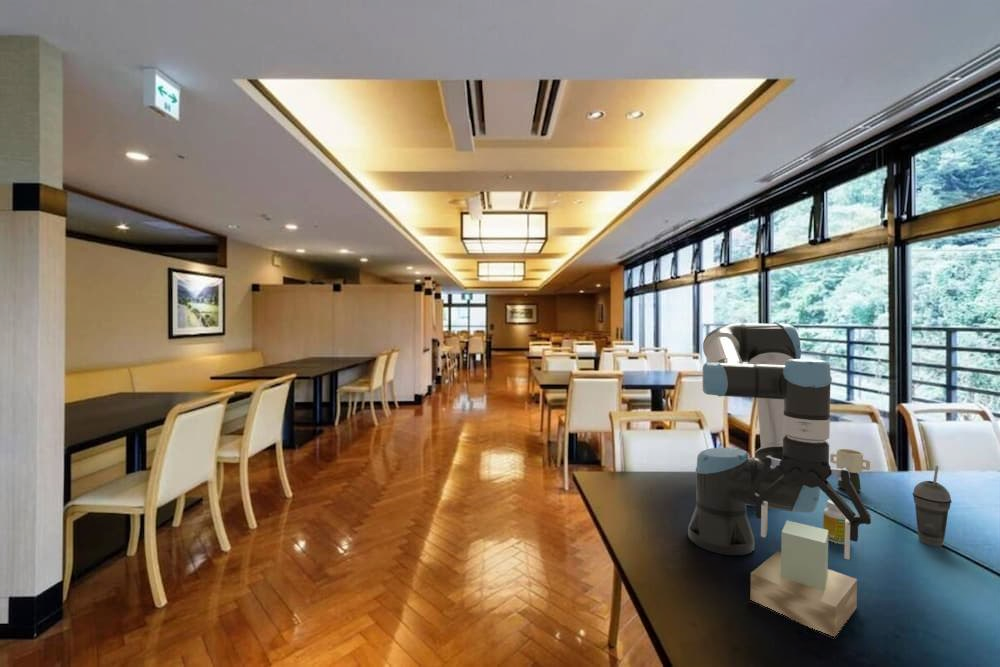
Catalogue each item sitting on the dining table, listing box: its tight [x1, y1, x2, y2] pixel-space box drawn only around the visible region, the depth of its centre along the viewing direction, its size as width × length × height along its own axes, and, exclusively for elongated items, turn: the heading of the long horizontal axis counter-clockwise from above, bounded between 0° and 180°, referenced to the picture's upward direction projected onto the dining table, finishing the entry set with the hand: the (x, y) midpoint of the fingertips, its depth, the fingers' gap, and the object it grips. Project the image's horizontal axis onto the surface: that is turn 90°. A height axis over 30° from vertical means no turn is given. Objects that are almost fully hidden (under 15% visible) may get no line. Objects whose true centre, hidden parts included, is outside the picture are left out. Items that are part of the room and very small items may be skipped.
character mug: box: [829, 448, 871, 492], centre depth 152 cm, size 11×7×13 cm, turn 39°
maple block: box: [749, 550, 858, 637], centre depth 89 cm, size 14×14×6 cm
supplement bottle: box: [822, 499, 847, 545], centre depth 116 cm, size 5×5×10 cm
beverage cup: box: [912, 465, 952, 548], centre depth 115 cm, size 7×7×20 cm
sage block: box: [780, 520, 829, 591], centre depth 89 cm, size 7×7×9 cm
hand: (803, 545), depth 89 cm, fingers open, 13 cm apart
